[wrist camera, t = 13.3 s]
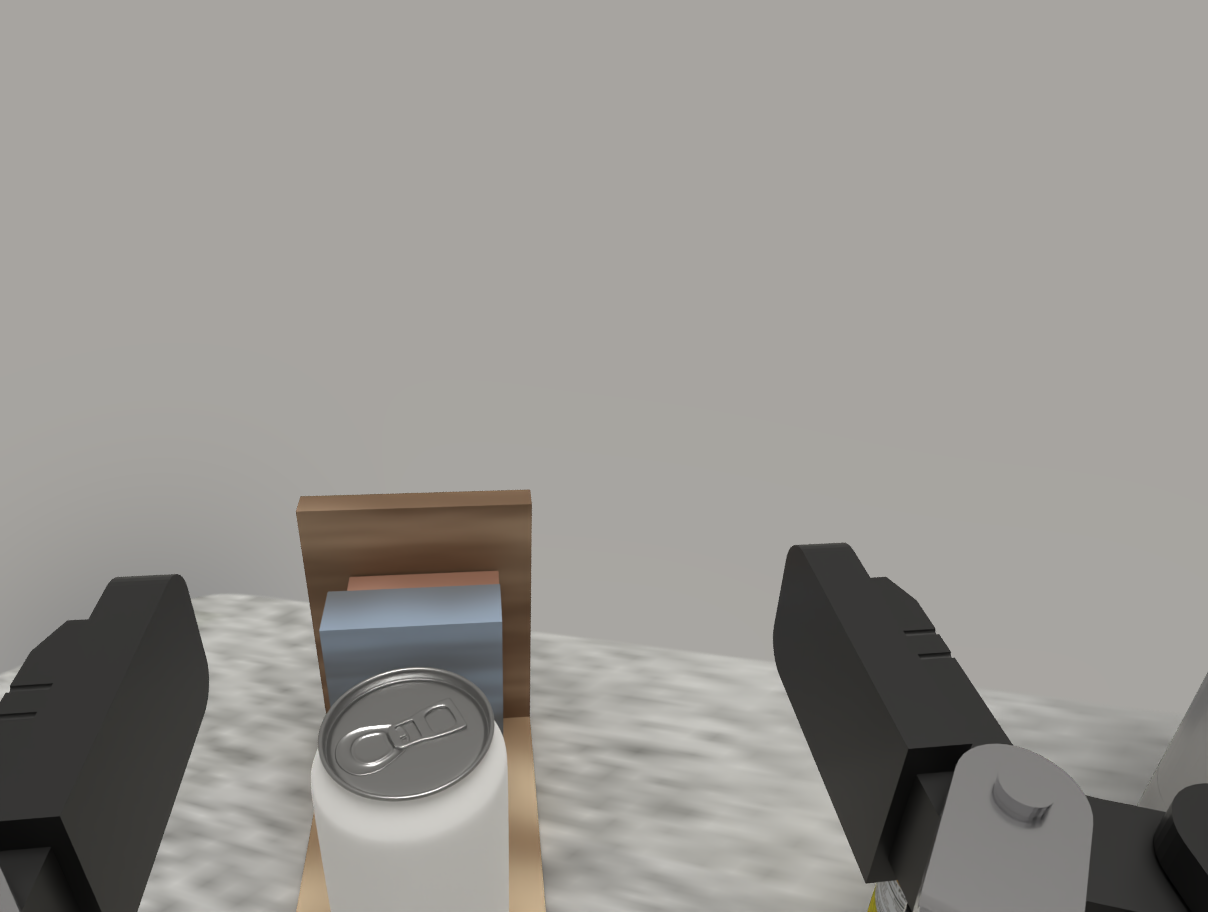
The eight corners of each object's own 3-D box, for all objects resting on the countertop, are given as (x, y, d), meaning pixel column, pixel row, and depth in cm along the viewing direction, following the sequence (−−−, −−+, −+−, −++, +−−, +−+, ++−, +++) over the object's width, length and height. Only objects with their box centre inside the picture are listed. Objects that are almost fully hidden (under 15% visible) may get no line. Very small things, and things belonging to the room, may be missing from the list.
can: (319, 917, 35) (279, 699, 29) (467, 845, 38) (458, 635, 32) (375, 1070, 30) (341, 847, 24) (538, 973, 34) (543, 755, 28)
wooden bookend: (555, 1063, 32) (566, 798, 25) (272, 1098, 31) (198, 828, 24) (527, 714, 47) (529, 484, 40) (335, 727, 46) (301, 491, 38)
